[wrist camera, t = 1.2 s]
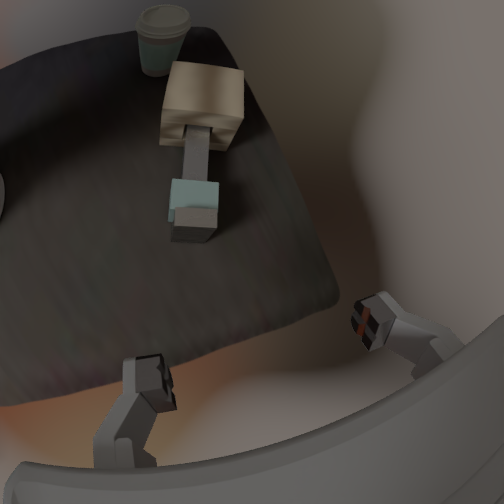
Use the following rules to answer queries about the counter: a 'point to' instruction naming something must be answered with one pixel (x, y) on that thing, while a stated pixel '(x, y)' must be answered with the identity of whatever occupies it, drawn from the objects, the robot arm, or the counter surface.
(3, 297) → the counter surface
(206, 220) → the grey elongated piece
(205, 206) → the pale teal block
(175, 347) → the counter surface
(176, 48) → the coffee cup
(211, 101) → the block
